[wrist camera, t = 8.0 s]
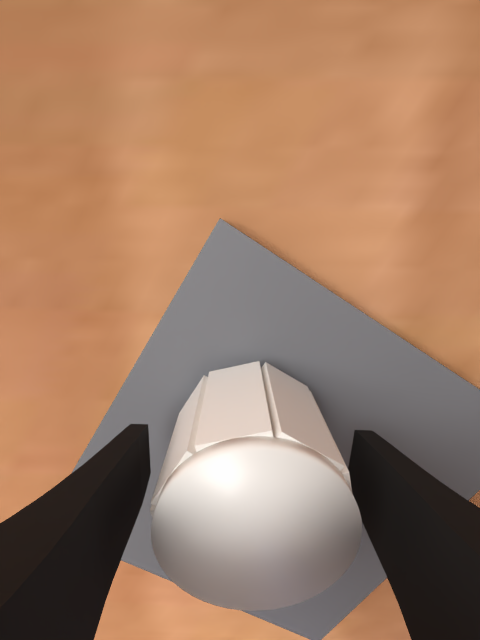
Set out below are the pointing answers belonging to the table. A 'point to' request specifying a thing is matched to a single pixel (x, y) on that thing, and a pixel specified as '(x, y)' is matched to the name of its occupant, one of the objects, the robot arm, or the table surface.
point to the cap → (253, 494)
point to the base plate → (306, 367)
